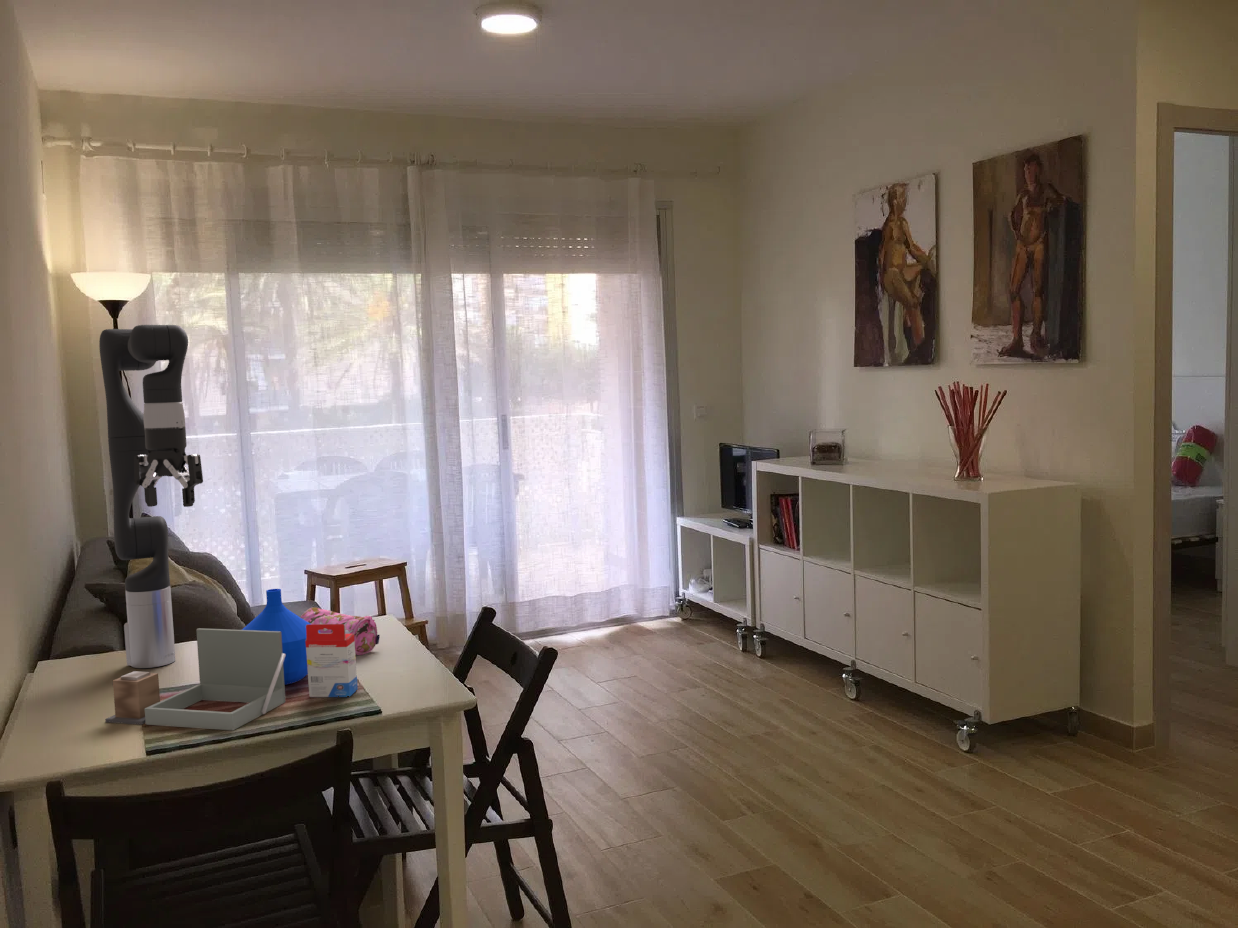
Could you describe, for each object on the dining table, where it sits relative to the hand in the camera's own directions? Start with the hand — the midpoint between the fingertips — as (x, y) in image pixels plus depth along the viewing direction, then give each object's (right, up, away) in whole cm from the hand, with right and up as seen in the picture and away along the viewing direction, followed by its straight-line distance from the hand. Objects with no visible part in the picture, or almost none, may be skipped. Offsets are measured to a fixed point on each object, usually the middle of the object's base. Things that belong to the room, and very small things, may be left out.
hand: (170, 506), depth 205 cm
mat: (-1, -39, -12) cm, 41 cm away
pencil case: (+24, -35, +34) cm, 55 cm away
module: (-1, -39, -12) cm, 40 cm away
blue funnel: (+19, -37, +10) cm, 43 cm away
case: (+14, -39, -12) cm, 43 cm away
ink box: (+33, -38, -1) cm, 50 cm away
